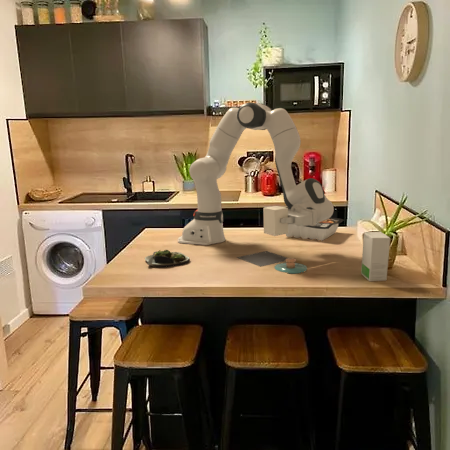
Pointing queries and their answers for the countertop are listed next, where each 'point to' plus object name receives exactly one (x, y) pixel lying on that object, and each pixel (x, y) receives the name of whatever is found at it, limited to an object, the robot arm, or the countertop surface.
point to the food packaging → (314, 229)
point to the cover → (275, 220)
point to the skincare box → (375, 256)
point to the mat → (263, 258)
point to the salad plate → (166, 259)
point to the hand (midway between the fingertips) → (274, 219)
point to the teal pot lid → (291, 267)
